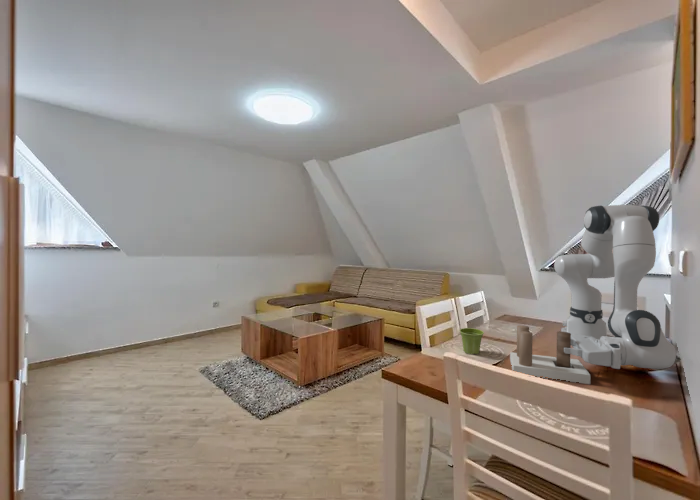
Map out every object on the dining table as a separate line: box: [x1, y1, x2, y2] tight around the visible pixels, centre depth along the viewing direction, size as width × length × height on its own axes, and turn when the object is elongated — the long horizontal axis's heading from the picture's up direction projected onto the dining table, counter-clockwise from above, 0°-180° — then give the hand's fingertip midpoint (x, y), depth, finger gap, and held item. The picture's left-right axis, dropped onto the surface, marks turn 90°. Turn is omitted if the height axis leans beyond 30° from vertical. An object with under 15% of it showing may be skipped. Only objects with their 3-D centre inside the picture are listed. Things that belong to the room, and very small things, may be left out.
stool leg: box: [556, 330, 572, 368], centre depth 112 cm, size 4×4×14 cm
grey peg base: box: [509, 324, 591, 385], centre depth 114 cm, size 14×22×14 cm, turn 68°
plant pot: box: [459, 327, 485, 355], centre depth 134 cm, size 9×9×9 cm
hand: (560, 345), depth 112 cm, fingers open, 8 cm apart
